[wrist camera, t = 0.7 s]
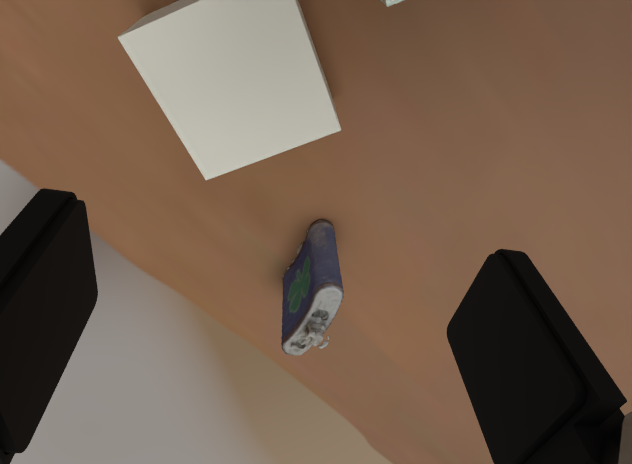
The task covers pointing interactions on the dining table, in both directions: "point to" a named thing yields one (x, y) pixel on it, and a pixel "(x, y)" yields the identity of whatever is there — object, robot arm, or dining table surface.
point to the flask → (311, 290)
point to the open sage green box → (390, 2)
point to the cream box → (234, 78)
